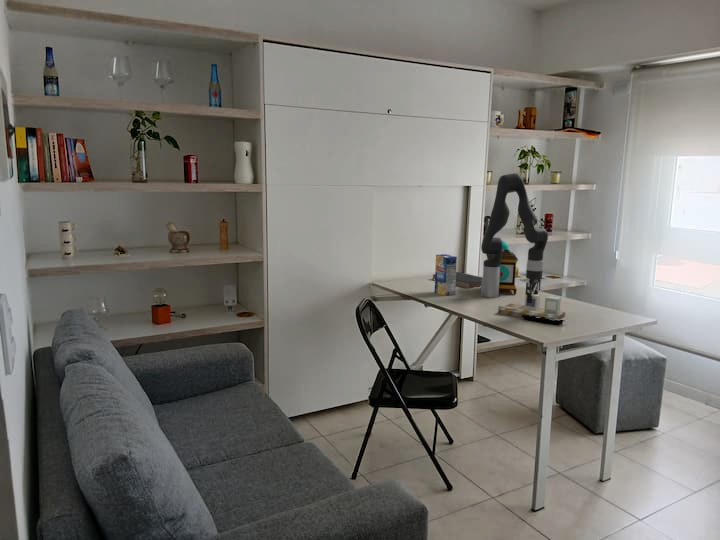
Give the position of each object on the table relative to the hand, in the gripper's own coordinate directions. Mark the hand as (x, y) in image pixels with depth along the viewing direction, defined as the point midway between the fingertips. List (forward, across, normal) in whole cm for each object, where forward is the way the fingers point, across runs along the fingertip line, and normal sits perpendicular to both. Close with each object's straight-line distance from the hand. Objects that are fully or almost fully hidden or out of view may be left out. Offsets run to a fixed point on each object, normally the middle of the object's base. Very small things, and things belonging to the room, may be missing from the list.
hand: (532, 301), depth 275 cm
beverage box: (+7, +15, +56) cm, 58 cm away
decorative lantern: (+7, +42, +34) cm, 54 cm away
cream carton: (+5, 0, 0) cm, 5 cm away
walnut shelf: (+7, 0, 0) cm, 7 cm away
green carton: (+5, 0, -10) cm, 11 cm away
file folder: (+8, +54, +63) cm, 83 cm away
